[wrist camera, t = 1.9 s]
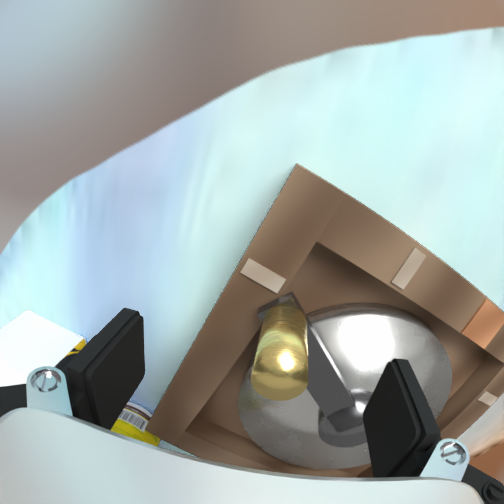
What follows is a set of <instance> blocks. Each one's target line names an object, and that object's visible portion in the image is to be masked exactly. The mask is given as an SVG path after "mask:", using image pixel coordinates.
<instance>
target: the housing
mask: <svg viewBox="0 0 504 504" xmlns="http://www.w3.org/2000/svg"><path fill="white" fill-rule="evenodd" d="M292 291H293V293H294V295H295V296H296V298H297V300H298V301H299V303H300V305H301V307H302V308H303V310H304V312H305V313H306V314H307V313H310V312H312V311H315V310H318V309H322V308H325V307H329V306H333V305H339V304H345V303H358V302H368V303H380V304H386V305H391V306H395V307H397V308H400V309H403V310H406V311H408V312H410V313H412V314H414V315H416V316H417V317H418V318H420V319H421V320H422V321H424V322H425V323H426V324H427V325H428V326H429V327H430V328H431V329H432V330H433V332H434V333H435V335H436V336H437V338H438V339H439V341H440V342H441V344H442V346H443V347H444V349H445V351H446V352H447V354H448V357H449V360H450V363H451V369H452V384H451V389H450V393H449V396H448V399H447V402H446V404H445V406H444V408H443V410H442V411H441V413H440V414H439V416H438V417H437V419H436V423H437V425H438V427H439V430H440V432H441V434H440V436H441V439H442V440H443V439H448V438H450V439H455V440H456V439H457V438H458V437H459V436H460V435H461V434H462V433H464V432H465V431H466V430H467V429H468V428H469V427H470V426H471V425H472V424H473V423H474V422H475V421H476V420H478V419H479V418H480V417H481V416H482V415H483V414H484V413H485V412H486V411H487V410H488V409H489V408H490V406H491V405H492V404H493V403H494V402H495V401H496V400H497V399H498V398H499V397H500V396H501V395H502V394H503V393H504V311H503V310H501V309H500V308H499V307H498V306H497V305H496V304H495V303H494V302H492V301H491V300H490V299H489V298H488V297H487V296H485V295H484V294H483V293H482V292H481V291H480V290H478V289H477V288H476V287H475V286H474V285H472V284H471V283H470V282H469V281H468V280H466V279H465V278H464V277H463V276H461V275H460V274H459V273H458V272H456V271H455V270H454V269H453V268H451V267H450V266H449V265H448V264H446V263H445V262H444V261H442V260H441V259H440V258H438V257H437V256H436V255H435V254H433V253H432V252H431V251H429V250H428V249H427V248H425V247H424V246H423V245H421V244H420V243H418V242H417V241H416V240H414V239H413V238H412V237H410V236H409V235H407V234H406V233H405V232H403V231H402V230H400V229H399V228H398V227H396V226H395V225H393V224H392V223H390V222H389V221H388V220H386V219H385V218H383V217H382V216H380V215H379V214H377V213H376V212H374V211H373V210H371V209H370V208H368V207H367V206H365V205H364V204H362V203H361V202H359V201H358V200H356V199H355V198H353V197H351V196H350V195H348V194H347V193H345V192H344V191H342V190H340V189H339V188H337V187H336V186H334V185H332V184H331V183H329V182H328V181H326V180H324V179H323V178H321V177H319V176H318V175H316V174H314V173H313V172H311V171H309V170H308V169H306V168H304V167H303V166H301V165H299V164H297V163H296V165H295V167H294V169H293V170H292V172H291V174H290V175H289V177H288V179H287V181H286V182H285V184H284V186H283V188H282V189H281V191H280V193H279V194H278V196H277V198H276V200H275V201H274V203H273V205H272V207H271V208H270V210H269V212H268V213H267V215H266V217H265V219H264V220H263V222H262V224H261V226H260V227H259V229H258V231H257V232H256V234H255V236H254V238H253V239H252V241H251V243H250V245H249V246H248V248H247V250H246V252H245V253H244V255H243V257H242V258H241V260H240V262H239V264H238V265H237V267H236V269H235V271H234V272H233V274H232V276H231V278H230V279H229V281H228V283H227V285H226V286H225V288H224V290H223V292H222V293H221V295H220V297H219V298H218V300H217V302H216V304H215V305H214V307H213V309H212V311H211V312H210V314H209V316H208V318H207V319H206V321H205V323H204V325H203V326H202V328H201V330H200V332H199V333H198V335H197V337H196V339H195V340H194V342H193V344H192V346H191V347H190V349H189V351H188V353H187V355H186V356H185V358H184V360H183V362H182V363H181V365H180V367H179V369H178V370H177V372H176V374H175V376H174V377H173V379H172V381H171V383H170V384H169V386H168V388H167V390H166V391H165V393H164V395H163V397H162V399H161V400H160V402H159V404H158V406H157V408H156V409H155V411H154V413H153V415H152V417H151V419H150V420H149V422H148V424H147V426H146V428H145V430H146V431H147V432H149V433H151V434H153V435H155V436H157V437H158V438H160V439H162V440H164V441H166V442H168V443H170V444H172V445H174V446H176V447H178V448H180V449H182V450H184V451H186V452H188V453H191V454H193V455H195V456H197V457H199V458H202V459H206V460H210V461H215V462H219V463H224V464H229V465H234V466H240V467H245V468H251V469H258V470H264V471H271V472H279V473H288V474H297V475H308V476H323V477H346V478H373V472H372V466H371V463H369V464H365V465H361V466H357V467H351V468H343V469H316V468H308V467H302V466H298V465H294V464H291V463H288V462H285V461H283V460H280V459H278V458H276V457H274V456H272V455H270V454H269V453H267V452H266V451H264V450H263V449H262V448H260V447H259V446H258V445H257V444H256V443H255V442H254V441H253V440H252V439H251V438H250V436H249V435H248V434H247V432H246V430H245V429H244V427H243V425H242V422H241V419H240V416H239V410H238V398H239V393H240V389H241V385H242V381H243V377H244V373H245V370H246V368H247V366H248V363H249V361H250V359H251V358H252V356H253V355H254V353H255V351H256V350H257V347H258V343H259V338H260V333H261V329H262V324H263V323H262V321H261V320H260V318H259V317H258V315H257V313H258V309H259V307H261V306H263V305H265V304H267V303H269V302H271V301H273V300H275V299H277V298H280V297H282V296H284V295H286V294H288V293H290V292H292Z"/></svg>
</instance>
